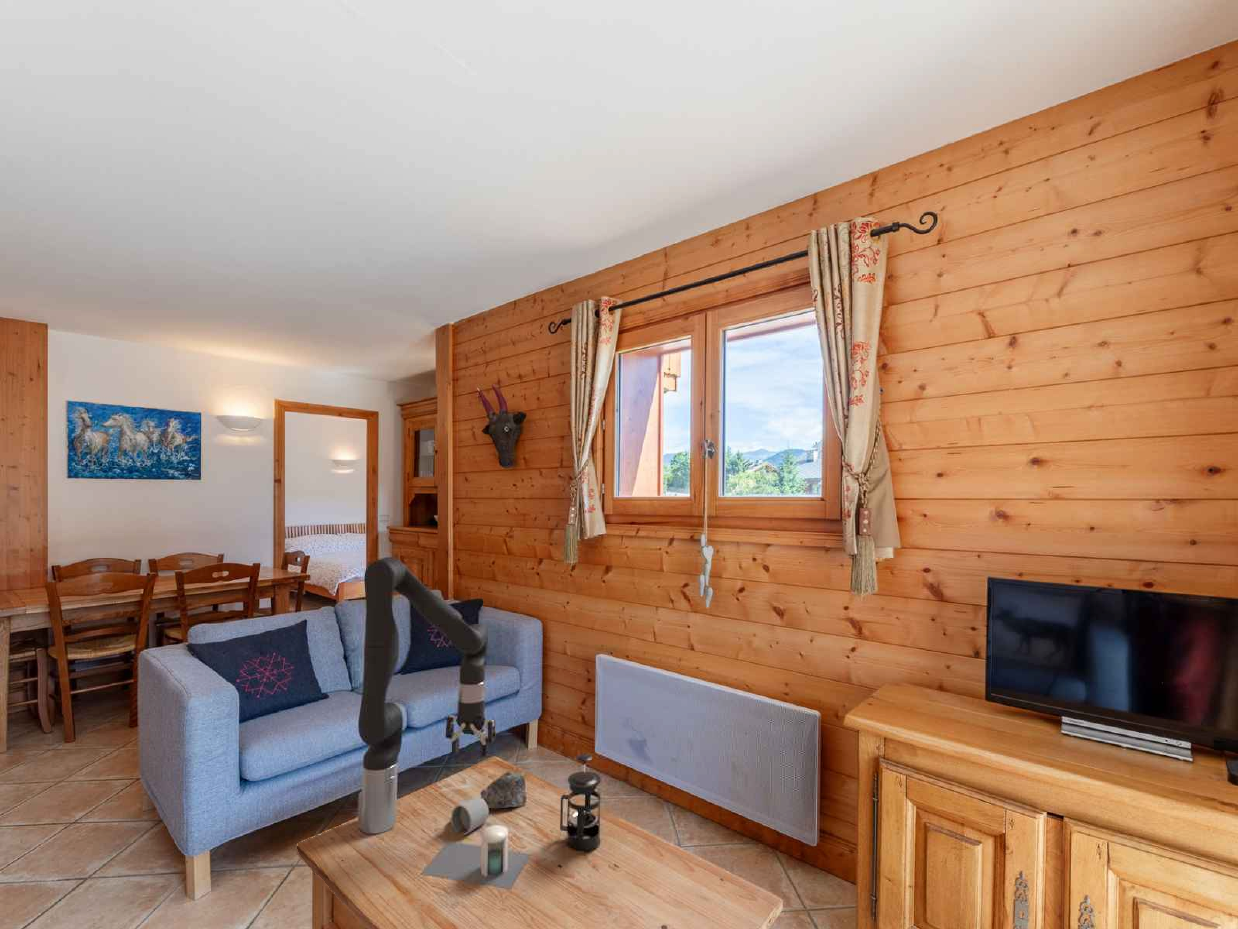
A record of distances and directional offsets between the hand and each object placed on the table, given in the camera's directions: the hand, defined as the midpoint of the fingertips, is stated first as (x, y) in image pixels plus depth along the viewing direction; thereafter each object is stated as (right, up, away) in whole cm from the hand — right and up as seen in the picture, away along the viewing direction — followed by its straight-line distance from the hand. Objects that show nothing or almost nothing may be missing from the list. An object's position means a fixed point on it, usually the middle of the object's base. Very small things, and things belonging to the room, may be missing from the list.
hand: (470, 755), depth 169 cm
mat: (+6, -20, -18) cm, 27 cm away
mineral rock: (+7, -21, +12) cm, 25 cm away
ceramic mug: (-1, -20, -1) cm, 20 cm away
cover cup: (+11, -19, -20) cm, 29 cm away
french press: (+32, -21, -7) cm, 39 cm away
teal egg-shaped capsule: (+11, -19, -20) cm, 29 cm away
